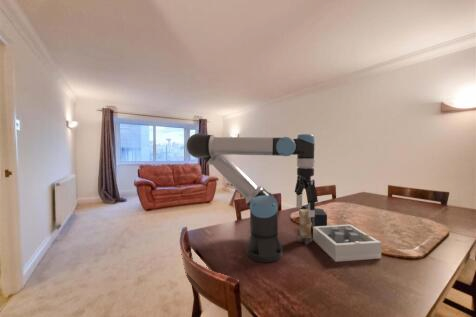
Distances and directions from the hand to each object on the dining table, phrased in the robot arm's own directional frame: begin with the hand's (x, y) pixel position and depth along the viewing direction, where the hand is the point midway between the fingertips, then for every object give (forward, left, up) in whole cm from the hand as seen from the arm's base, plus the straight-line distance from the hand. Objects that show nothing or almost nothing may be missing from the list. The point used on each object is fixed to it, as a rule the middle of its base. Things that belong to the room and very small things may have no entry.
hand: (304, 211), depth 95 cm
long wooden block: (0, 0, -14) cm, 14 cm away
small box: (+13, +11, -14) cm, 22 cm away
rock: (+16, +29, -14) cm, 36 cm away
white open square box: (+14, -9, -14) cm, 22 cm away
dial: (+15, -9, -12) cm, 21 cm away
